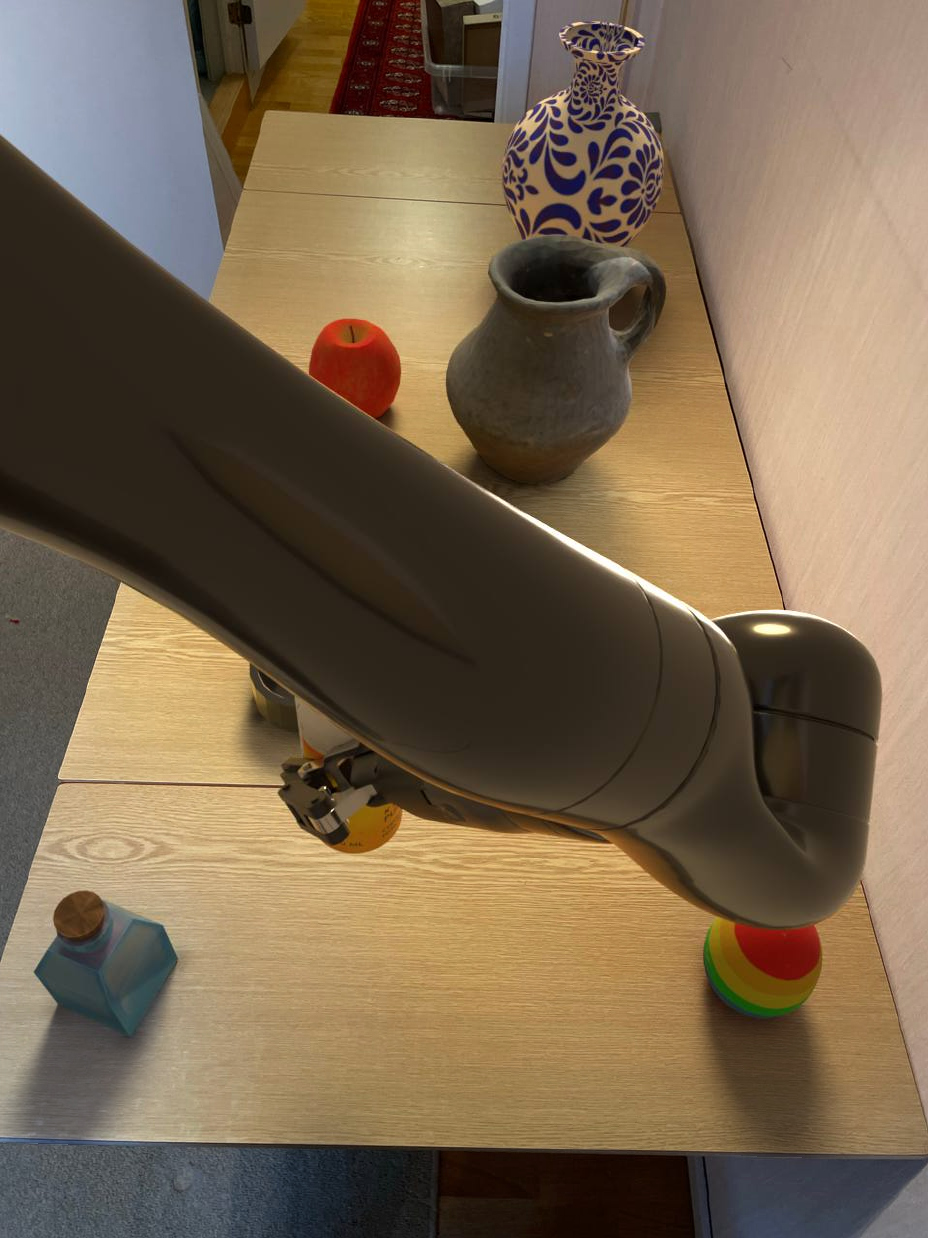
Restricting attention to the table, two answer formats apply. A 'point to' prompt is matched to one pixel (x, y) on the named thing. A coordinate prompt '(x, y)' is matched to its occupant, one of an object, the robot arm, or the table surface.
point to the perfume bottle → (105, 961)
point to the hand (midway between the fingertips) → (334, 741)
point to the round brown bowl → (273, 701)
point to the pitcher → (552, 355)
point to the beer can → (365, 824)
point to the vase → (586, 149)
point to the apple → (357, 364)
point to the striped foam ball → (762, 967)
